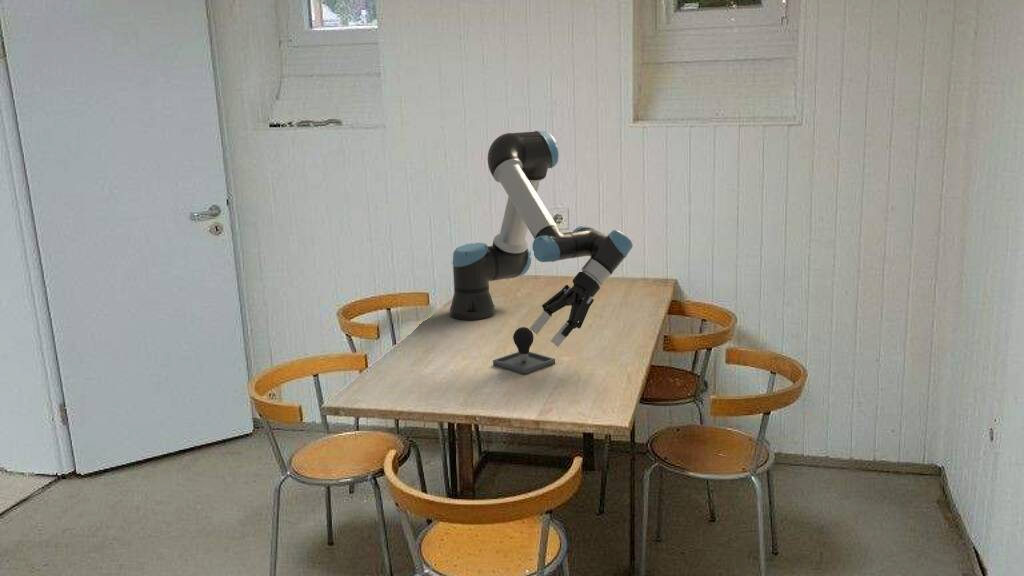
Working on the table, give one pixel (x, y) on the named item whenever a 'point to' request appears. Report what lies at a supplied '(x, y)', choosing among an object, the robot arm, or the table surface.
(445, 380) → the table surface
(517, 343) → the light bulb
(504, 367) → the tray
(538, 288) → the table surface
